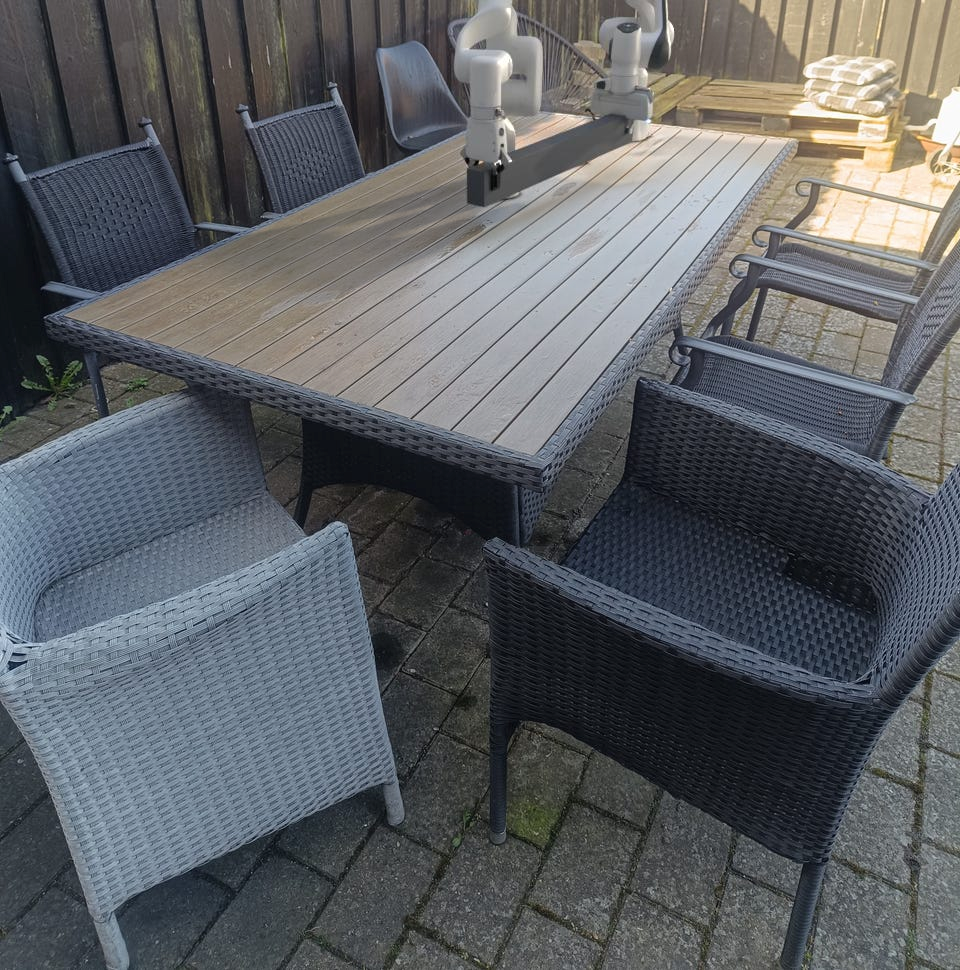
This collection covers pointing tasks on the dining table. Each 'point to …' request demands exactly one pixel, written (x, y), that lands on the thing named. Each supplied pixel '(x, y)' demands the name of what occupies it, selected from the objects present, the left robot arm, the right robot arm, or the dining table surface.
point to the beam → (548, 158)
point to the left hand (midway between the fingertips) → (485, 186)
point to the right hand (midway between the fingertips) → (618, 131)
